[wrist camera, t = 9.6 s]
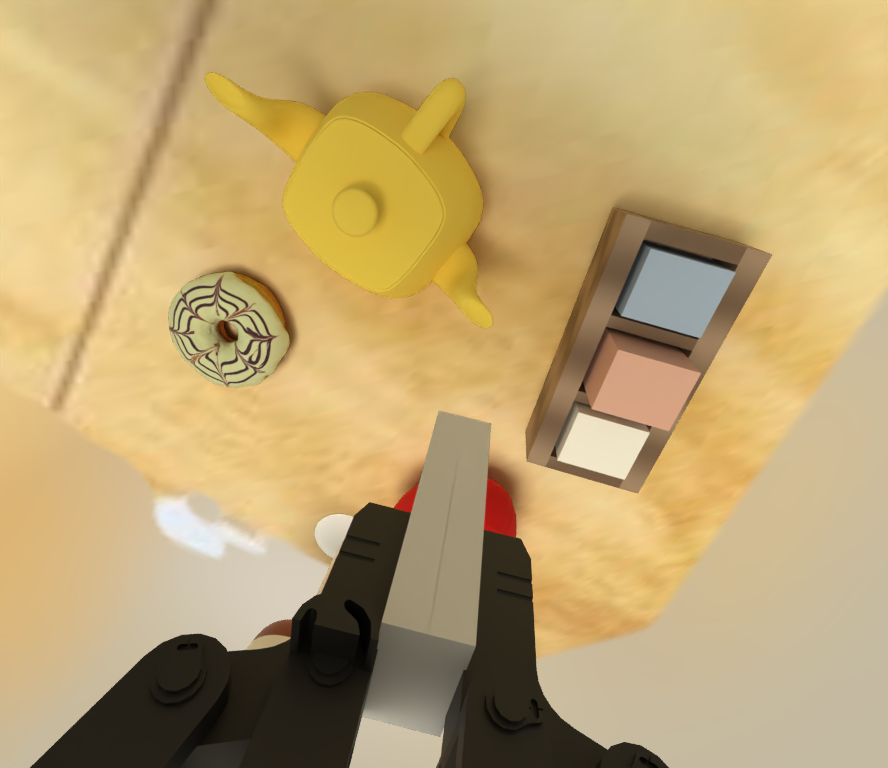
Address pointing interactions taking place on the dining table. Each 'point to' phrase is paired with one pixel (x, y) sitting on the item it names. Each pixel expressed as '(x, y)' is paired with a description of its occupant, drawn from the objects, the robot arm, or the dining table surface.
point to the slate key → (673, 289)
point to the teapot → (377, 188)
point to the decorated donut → (206, 340)
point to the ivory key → (600, 441)
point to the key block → (632, 332)
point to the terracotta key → (639, 379)
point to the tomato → (496, 508)
